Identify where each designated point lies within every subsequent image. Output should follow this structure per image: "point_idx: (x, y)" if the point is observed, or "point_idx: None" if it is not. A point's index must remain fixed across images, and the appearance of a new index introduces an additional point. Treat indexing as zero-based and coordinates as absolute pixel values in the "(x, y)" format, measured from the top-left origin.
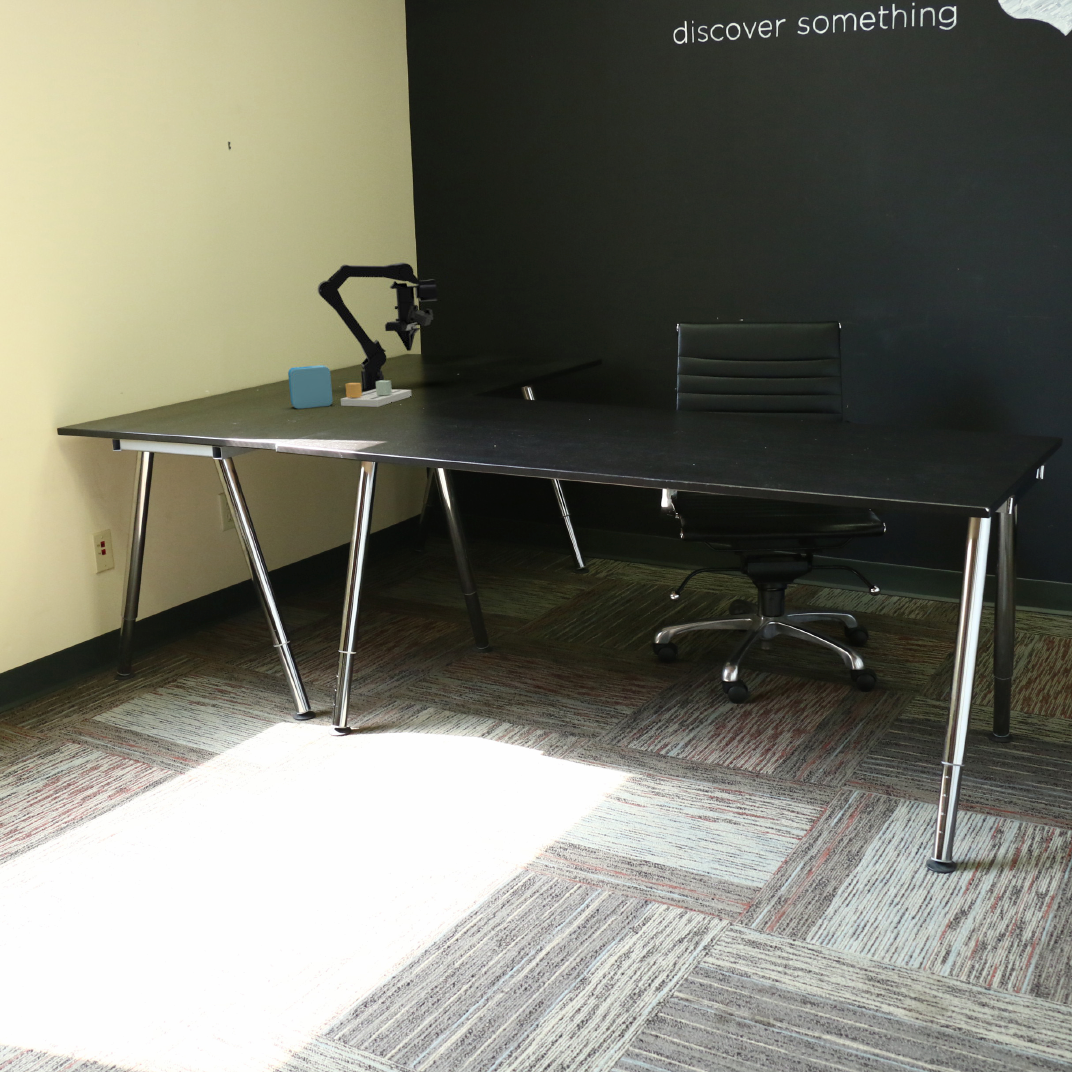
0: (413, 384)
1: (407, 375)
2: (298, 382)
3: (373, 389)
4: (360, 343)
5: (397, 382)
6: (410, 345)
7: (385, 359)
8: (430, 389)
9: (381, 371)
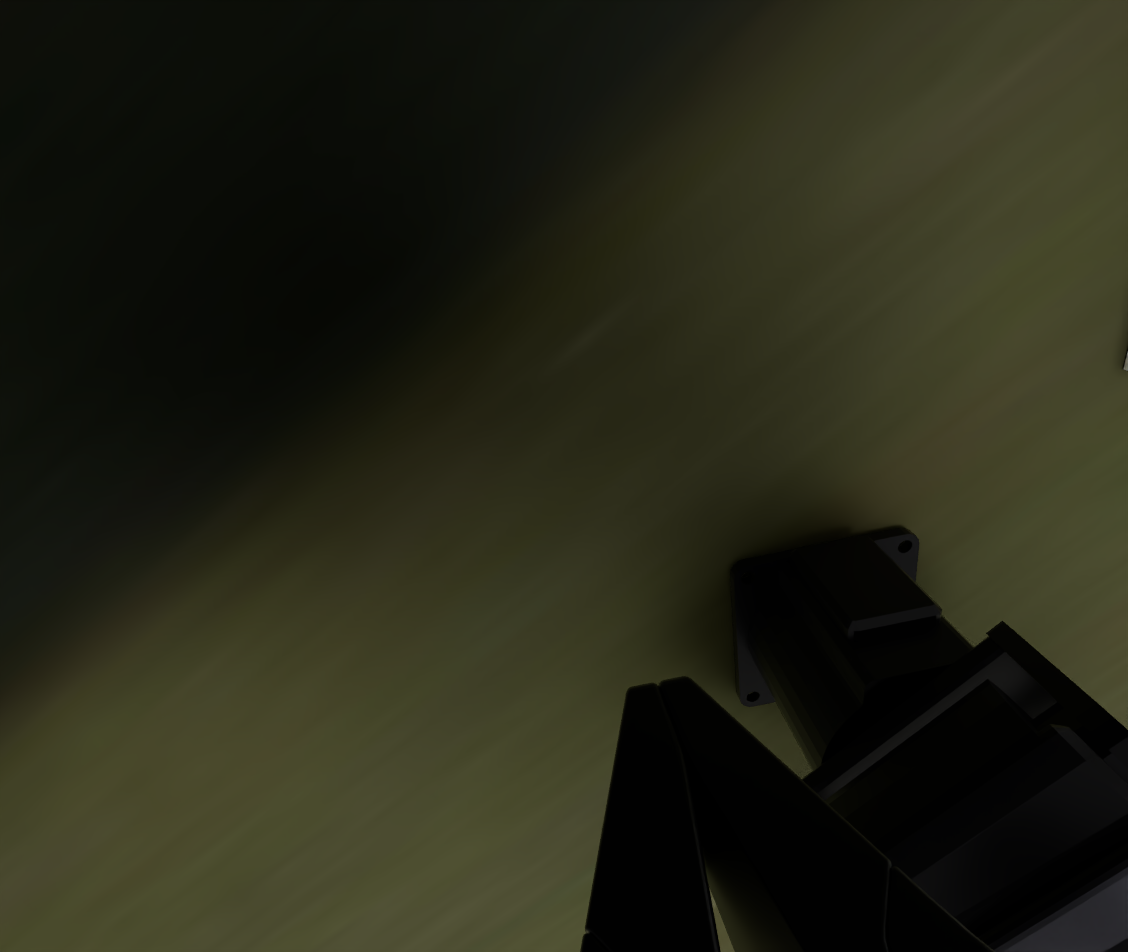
0: (404, 505)
1: (11, 901)
2: None
3: (907, 563)
4: None
5: (375, 717)
6: (713, 761)
7: (1024, 723)
8: (655, 3)
9: (883, 669)
